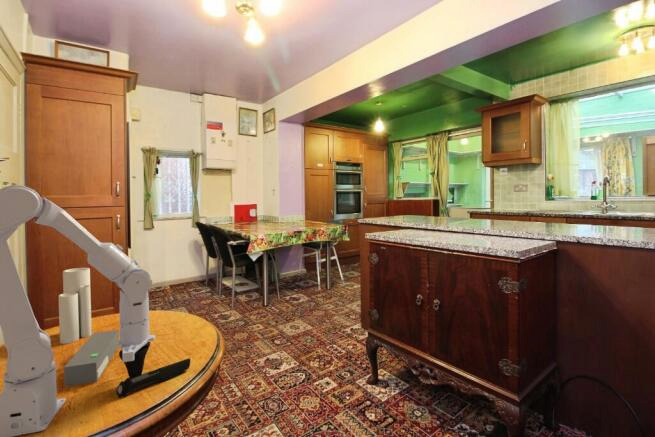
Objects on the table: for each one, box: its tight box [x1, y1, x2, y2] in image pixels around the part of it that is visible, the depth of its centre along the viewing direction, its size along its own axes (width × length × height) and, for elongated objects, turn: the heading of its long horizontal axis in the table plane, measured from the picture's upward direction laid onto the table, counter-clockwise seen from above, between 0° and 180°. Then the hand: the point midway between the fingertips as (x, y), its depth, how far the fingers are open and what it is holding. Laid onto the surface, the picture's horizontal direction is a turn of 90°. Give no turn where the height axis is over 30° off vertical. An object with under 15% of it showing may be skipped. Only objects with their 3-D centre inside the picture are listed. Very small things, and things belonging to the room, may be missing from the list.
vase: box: [58, 267, 92, 345], centre depth 97 cm, size 11×7×20 cm, turn 30°
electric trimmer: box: [115, 358, 191, 398], centre depth 73 cm, size 4×16×3 cm, turn 137°
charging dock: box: [63, 329, 120, 388], centre depth 81 cm, size 20×6×5 cm, turn 21°
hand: (135, 377), depth 72 cm, fingers closed
